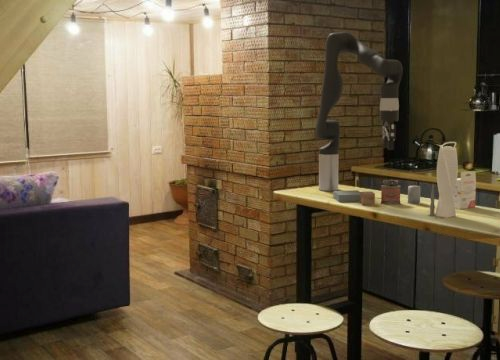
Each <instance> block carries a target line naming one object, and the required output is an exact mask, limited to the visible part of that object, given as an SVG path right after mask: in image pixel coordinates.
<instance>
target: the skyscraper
mask: <svg viewBox="0 0 500 360" xmlns="http://www.w3.org/2000/svg"><path fill="white" fill-rule="evenodd" d="M447 144H454V145H453V146H448V145H447ZM445 145H446V146H445ZM456 146H457V142H456V141H446V142H444V143H443V144H442V145H441V146H440V147H439V151H438V156H437V163H436V182H437V190H438V201H437V206H435V198H436V195H435V194H434V192H435V187H434V183H433V182H432V187H431V194H430V205H429V211H430V212H429V215H428V216H429V217H433V216H434V218H438V217H439V218H438V219H443V218H445V219H450V218H455V216H456V217H457V213H456V212H457V211H456V208H455V205H454V198H453V193H454V190H455V186H456V181H457V178H458V174H459V173H458V172H459V165H458V164H459V161H458V151H457V147H456ZM449 217H450V218H449Z"/></svg>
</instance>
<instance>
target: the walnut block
mask: <svg viewBox="0 0 500 360" xmlns="http://www.w3.org/2000/svg"><path fill="white" fill-rule="evenodd" d="M375 196H376V194H375V192H373V191H372V190H371V191H370V190H369V191H360V201H359V204H360V205H361V206H376V205H375V204H376V202H375V201H376V200H375V199H376V197H375Z"/></svg>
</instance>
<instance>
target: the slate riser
mask: <svg viewBox="0 0 500 360" xmlns="http://www.w3.org/2000/svg"><path fill="white" fill-rule="evenodd" d="M360 192H361V191H359V190H355V189H354V190H334V191H333V192H332V194H333V199H334V200H336V201H337V202H339V203H347V202H348V203H350V202H360Z"/></svg>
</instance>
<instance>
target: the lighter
mask: <svg viewBox="0 0 500 360" xmlns="http://www.w3.org/2000/svg"><path fill="white" fill-rule="evenodd" d="M383 184H384V185H383ZM398 184H399V181H398V180H393V179H390V180H389V179H383V181H382V185H381V186H380V188H381V193H380V194H381V196H380V197H381V200H380V204H381V205H401V188H402V187H401V185H398Z"/></svg>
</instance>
